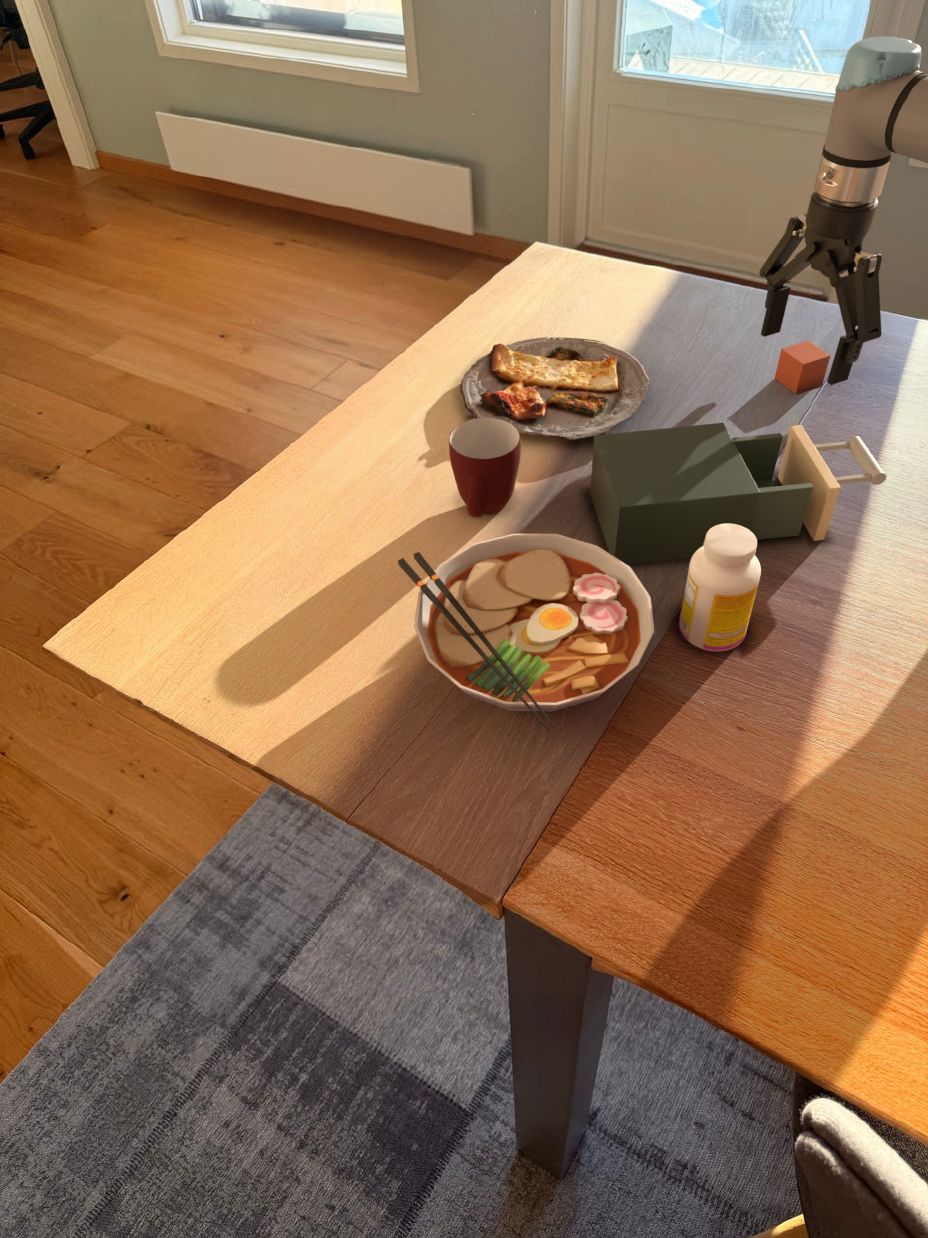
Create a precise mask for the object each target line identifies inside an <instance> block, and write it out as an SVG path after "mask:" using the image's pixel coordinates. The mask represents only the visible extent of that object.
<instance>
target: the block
mask: <svg viewBox="0 0 928 1238" xmlns="http://www.w3.org/2000/svg"><path fill="white" fill-rule="evenodd" d="M830 359H831V355H830V354H829V353H827V352H826V351H824V350H823V349H821V348H820V347H818V346H817V345H816V344H815V343H813V342H811V341H810V340H806V341H803V342H799V343H795V344H793V345H789V346H786V347H783V348H781V349H780V353H779V357H778V361H777V365H776V370H775V375H774V379H775V380H776V381H778V382H779V383H780V384H782V385H783V386H784V387H785V388H787V389H788V390H789V391H791V392H792V393H793V394H795V395H797V394H800V393H803V392H807V391H809V390H812V389H816V388H818V387H821V386H823V384H824V381H825V378H826V377H825V376H826V374H827V369H828V366H829V363H830Z"/></svg>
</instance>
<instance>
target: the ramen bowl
mask: <svg viewBox="0 0 928 1238" xmlns="http://www.w3.org/2000/svg"><path fill="white" fill-rule="evenodd" d="M413 559H414V560H415V562H416V563H417V564H418V565H419V566H420V568H421V570H423V571H424V573H425V574H426V575H427V576H428V577H429V578H428V579H427V580H426V582H424V581H423V580H422V578H421V576H419V575H418V574H417V572H416V571H415V569H413V568H412V566H411V565H410V564H409V563H408V562H407V560H405V558H404V557H402V558H400V559H398V560H397V565H398V566H399V567H400V569H401V570H402V571H403V572H404V573H405V574H406V575H407V576H408V577H409V578H410V580H411V581H412V582H413V583H414V584H415V585H416V586H417V587H418V588H419V589H420V590H419V592H418V594H417V599H416V610H415V614H414V623H413V628H414V630H415V633H416V636H417V638H418V640H419V643H420V646H421V648H422V650H423V653H424V655H425V658H426V660H427V661H428V662H429V663H430V664H431V665H432V666H433V667H434V668H435V669H436V670H437V671H438V672H440V673H441V674H442V675H443V676H444V677H445V678H447V679H448V680H449V681H450V682H451V683H452V684H454V685H455V686H456V687H457V688H459V690H460V691H462V692H463V693H464V694H466V695H468V696H470V697H472V698H475V699H477V700H479V701H483V702H485V703H488V704H490V705H493V706H496V707H499V708H501V709H504V710H507V711H509V712H531V713H532V714H533V716H534V717H536V719H537V720H538V721H539V722H540V723H541V724H542V725H543V726H544V728H545V729H546V730H550V727H549V726H548V725H547V724H546V723H545V721H543V720H542V718H541V717H540V716H539V715H538V714H537V712H540V713H541V714H542V716H543V717H544V718H545V719H546V720H547V721H548V723H549V724H550V725H551V726H552V728H554V727H555V724H554V723H553V722H552V720H551V719H550V718H549V717H548V715H547V714H546V713H545V712H551V713H552V712H555V711H559V710H563V709H565V708H569V707H573V706H577V705H580V704H583V703H586V702H589V701H592V700H595V699H597V698H599V697H600V696H601V695H603V694H604V693H605V692H607V691H608V690H609V689H610V688H612V687H613V686H615V684H616V683H619V681H620V680H622V679H623V678H624V677H626V676H627V675H628V674H629V673H631V672H632V671H633V670H634V669H635V668H636V667H637V666H639V664H640V662H641V659H642V658H643V655H644V653H645V652H646V650H647V648H648V645H649V643H650V641H651V639H652V637H653V635H654V633H655V624H654V615H653V606H652V598H651V596H650V594H649V592H648V590H647V589H646V588H645V586H644V585H643V583H642V582H641V580H640V578H638V576H637V574H636V573H635V572H634V570H633V568H632V567H631V566H629V564H627V565H626V564H625V563H623V562H622V561H620V560H619V559H617V558H616V557H614V556H612V555H611V554H610V553H609V551H606V550H605V549H603V548H602V547H600V546H598V545H596V544H593V543H591V542H587V541H583V540H579V539H576V538H574V537H573V538H572V537H569V536H565V535H562V534H559V533H511V534H506V535H503V536H502V535H501V536H498V537H495V538H490V539H486V540H482V541H479V542H474V543H471V544H470V545H469V546H467V547H466V548H464V549H462V550H461V551H459V552H457V553H456V554H454V555H453V556H451V557H449V558H448V559H446V560H444V561H443V562H441V563H440V564H439V565H438V566H437V568H436V569H435V570H434V569H433V568H432V567H431V565H430V564H429V562H428V561H427V560H426V558H424V556H423V555H422V554H421V553H420V551H416V552H414V553H413Z"/></svg>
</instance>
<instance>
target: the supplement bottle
mask: <svg viewBox="0 0 928 1238" xmlns="http://www.w3.org/2000/svg"><path fill="white" fill-rule="evenodd" d="M757 547H758V540H757V539H756V537H755V535H754V534H753V533H752V532H751V531H750V530H749V529H747V528H745V527H743V526H740V525H736V524H720V525H716V526H714V527H712V528H711V529H710V530H709V531H708V532H707V534H706V537H705V541H704V546H702V547H701V548H699V549H698V550H697V551H696V552H695V553H694V554H693V556H692V558H690V561H689V564H688V572H687V577H686V581H685V589H684V593H683V599H682V605H681V610H680V616H679V623H678V625H679V630H680V633H681V634H682V636H683V638H685V639H686V641H687V642H689V643H690V644H692V646H695V647H697V648H700V649H702V650H705V651H708V652H709V651H710V652H725V651H729V650H732V649H735V648H736V647H738V646H739V645H740V644H742V642H743V641H744V639H745V637H746V634H747V630H748V628H749V627H748V626H749V623H750V619H751V614H752V611H753V608H754V603H755V599H756V595H757V591H758V588H759V584H760V580H761V575H762V567H761V563H760V561H759V559H758V558H757V556H756V552H757Z"/></svg>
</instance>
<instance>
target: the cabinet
mask: <svg viewBox="0 0 928 1238" xmlns="http://www.w3.org/2000/svg"><path fill="white" fill-rule="evenodd" d="M732 438H733V437H732V436H731V434H730V433H729V431H728V429H727V427H726V425H725V423H724V422H717V423H715V422H713V423H706V424H705V423H704V424H696V425H695V424H694V425H686V426H676V427H674V426H673V427H665V428H656V429H647V430H646V429H645V430H635V431H626V432H617V433H615V432H614V433H606V434H605V433H603V434H600V435H595V436H593V447H592V461H591V463H592V464H591V473H590V474H591V475H590V488H589V489H590V490H589V494H590V497H591V501H592V504H593V506H594V510H595V513H596V517H597V519H598V522H599V525H600V528H601V532H602V534H603V538H604V541H605V544H606V547H607V551H608V553H609V554H611V555H612V556H614V557H616V558H617V559H619V560H620V561H622V562H623V563H625V564H626V565H634V564H635V565H636V564H643V563H654V562H655V563H656V562H663V561H672V560H673V561H674V560H682V559H691V558H692V556H693V554H694V553H695V552H696V551H697V550H698V549H699V548H701V547H702V546H704V541H705V537H706V534H707V532H708V531H709V530H710V529H711V528H712V527H714V526H716V525H720V524H736V525H740V526H743V527H745V528H747V529H749V530H750V531H751V529H752V525H753V521H754V517H755V513H756V509H757V505H758V501H759V497H760V491H759V489H758V487H757V485H756V483H755V482H754V480H753V478H752V476H751V474H750V472H749V470H748V468H747V466H746V465H745V463H744V461H743V459H742V457H741V455H740V453H739V451H738V450H737V448H736V446H735V444H734V442H733V440H732Z"/></svg>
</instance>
